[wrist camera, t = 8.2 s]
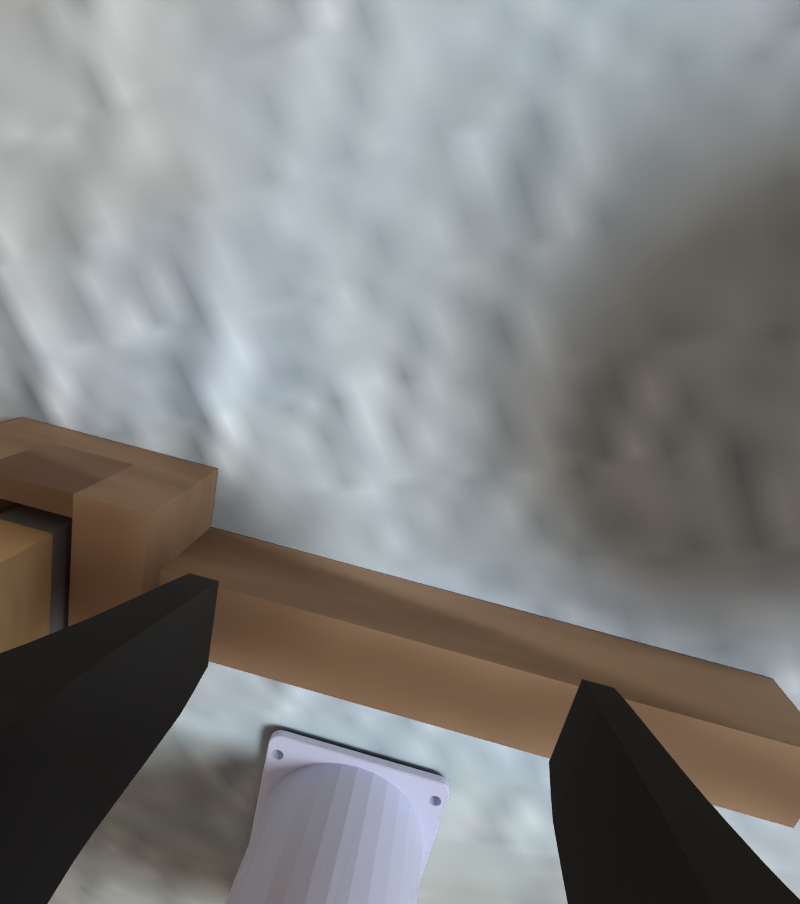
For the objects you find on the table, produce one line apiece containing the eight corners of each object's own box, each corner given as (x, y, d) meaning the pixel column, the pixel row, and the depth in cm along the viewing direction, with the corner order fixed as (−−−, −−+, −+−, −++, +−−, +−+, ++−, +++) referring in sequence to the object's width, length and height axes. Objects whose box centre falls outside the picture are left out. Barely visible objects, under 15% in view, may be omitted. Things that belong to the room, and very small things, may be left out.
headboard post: (713, 788, 21) (777, 914, 17) (21, 592, 23) (-84, 660, 18) (802, 622, 19) (904, 718, 14) (22, 417, 20) (-98, 448, 16)
